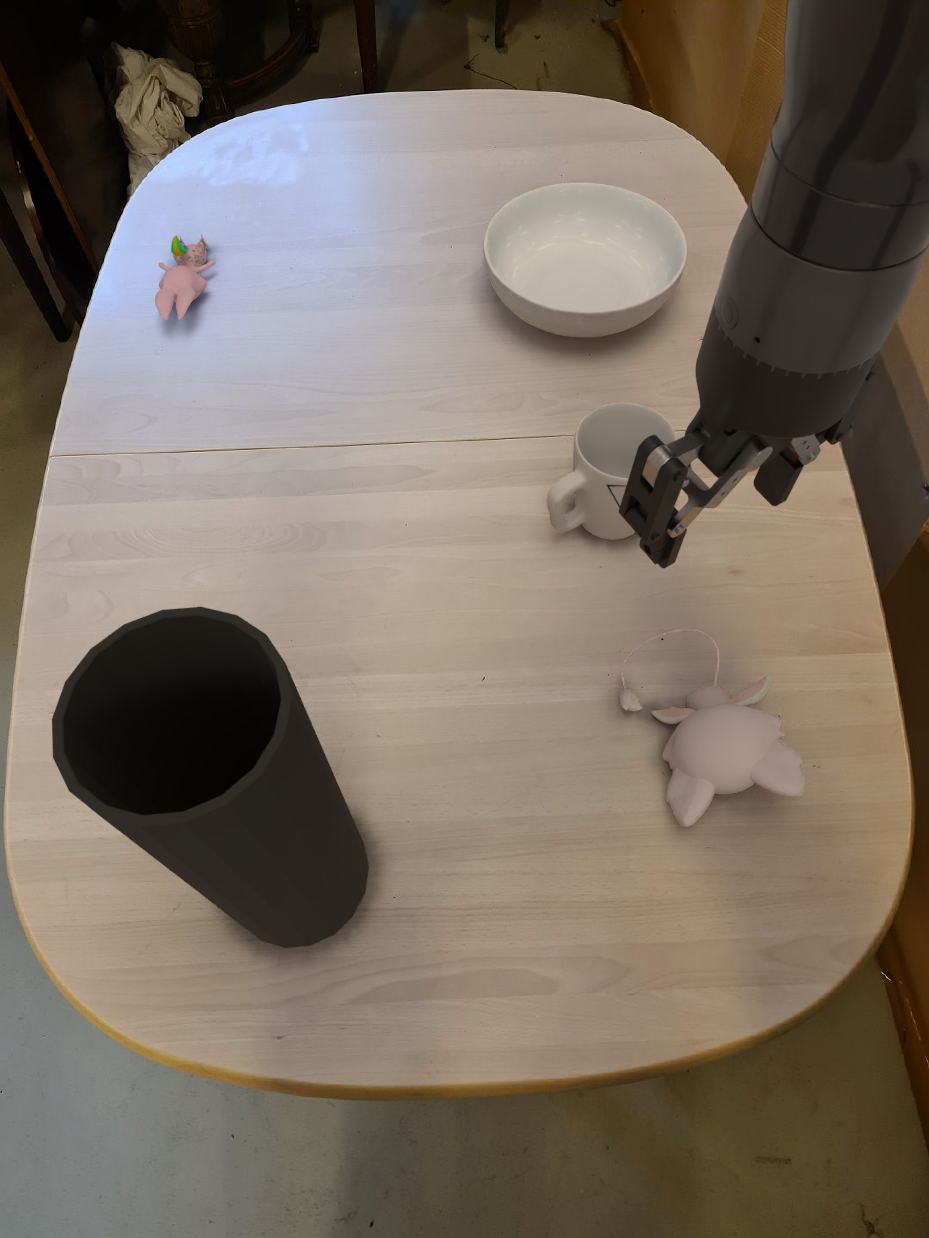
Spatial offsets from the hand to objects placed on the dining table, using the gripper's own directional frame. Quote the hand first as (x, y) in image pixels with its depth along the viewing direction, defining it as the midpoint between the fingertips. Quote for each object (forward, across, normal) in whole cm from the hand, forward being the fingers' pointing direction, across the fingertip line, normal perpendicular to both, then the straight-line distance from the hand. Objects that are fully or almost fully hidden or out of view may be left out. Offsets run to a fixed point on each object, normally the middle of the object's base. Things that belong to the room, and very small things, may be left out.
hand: (714, 524), depth 52 cm
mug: (+22, +6, +15) cm, 27 cm away
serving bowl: (+22, +22, +41) cm, 51 cm away
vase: (+22, -32, +1) cm, 38 cm away
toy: (+22, -1, -6) cm, 23 cm away
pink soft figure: (+22, -14, +64) cm, 70 cm away
